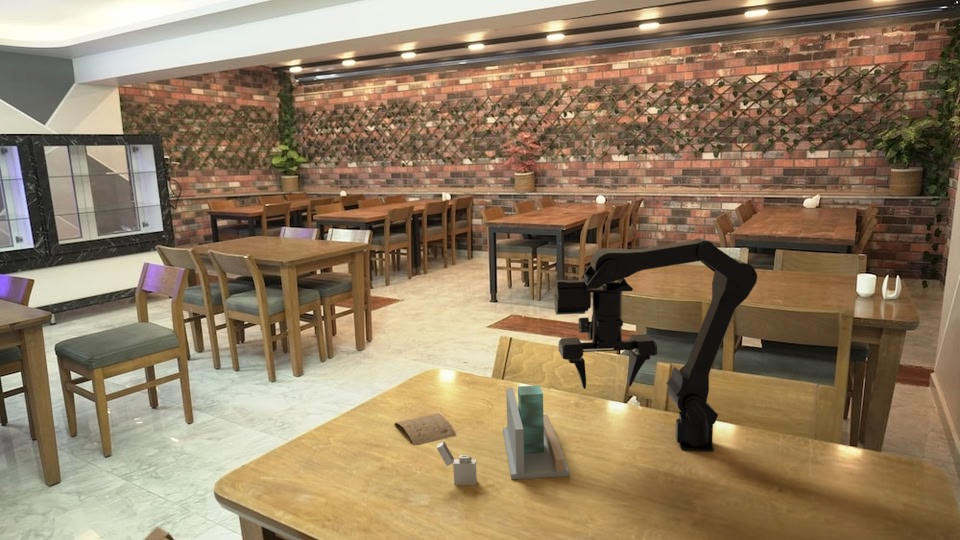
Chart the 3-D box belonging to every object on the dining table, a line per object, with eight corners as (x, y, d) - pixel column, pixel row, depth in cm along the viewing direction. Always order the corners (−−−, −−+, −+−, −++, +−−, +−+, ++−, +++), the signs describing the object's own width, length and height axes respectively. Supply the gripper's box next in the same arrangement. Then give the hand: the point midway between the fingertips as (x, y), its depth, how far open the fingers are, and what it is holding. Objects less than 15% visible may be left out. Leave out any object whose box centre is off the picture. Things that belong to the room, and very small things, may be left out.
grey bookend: (552, 429, 135) (551, 386, 133) (569, 476, 115) (568, 426, 113) (502, 431, 134) (501, 388, 132) (511, 479, 115) (509, 429, 113)
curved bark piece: (458, 439, 133) (457, 427, 132) (415, 450, 128) (414, 438, 128) (431, 415, 145) (431, 404, 145) (391, 425, 141) (390, 414, 140)
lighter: (476, 479, 115) (475, 440, 113) (476, 484, 113) (474, 445, 112) (439, 479, 115) (437, 440, 114) (438, 484, 114) (436, 444, 112)
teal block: (540, 442, 127) (539, 385, 124) (544, 452, 122) (543, 393, 120) (519, 443, 126) (517, 386, 124) (521, 453, 122) (520, 395, 120)
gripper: (641, 301, 129) (640, 370, 132) (553, 304, 128) (554, 375, 131) (658, 314, 118) (657, 390, 121) (563, 318, 117) (563, 395, 120)
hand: (606, 387), depth 123 cm, fingers open, 9 cm apart
